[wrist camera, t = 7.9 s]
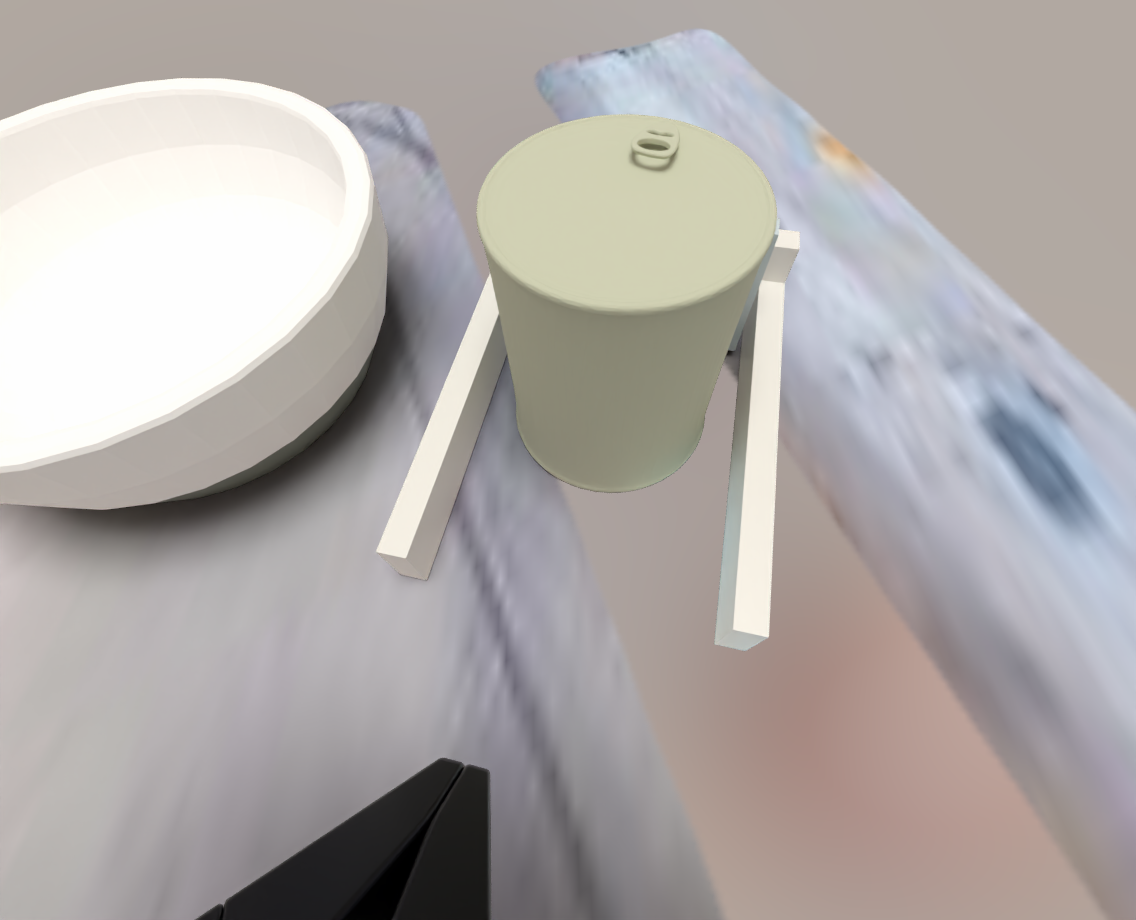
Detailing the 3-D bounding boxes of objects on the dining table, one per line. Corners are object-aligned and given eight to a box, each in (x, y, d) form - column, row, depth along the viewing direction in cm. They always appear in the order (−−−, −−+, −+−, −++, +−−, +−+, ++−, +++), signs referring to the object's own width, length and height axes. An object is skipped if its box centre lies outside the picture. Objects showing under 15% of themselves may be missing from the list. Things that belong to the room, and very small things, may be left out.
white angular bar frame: (745, 651, 21) (788, 625, 16) (400, 574, 23) (355, 533, 18) (767, 309, 29) (799, 232, 25) (514, 274, 31) (502, 195, 26)
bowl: (511, 346, 28) (485, 207, 21) (103, 674, 21) (-155, 635, 14) (283, 175, 36) (207, 29, 29) (-73, 370, 29) (-299, 242, 21)
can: (724, 367, 27) (813, 128, 17) (671, 522, 23) (742, 338, 13) (560, 318, 29) (546, 76, 19) (484, 454, 25) (412, 245, 15)
